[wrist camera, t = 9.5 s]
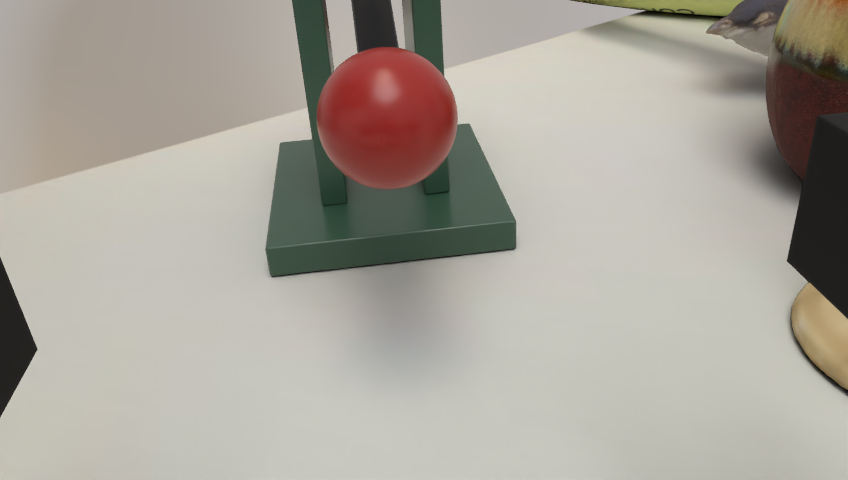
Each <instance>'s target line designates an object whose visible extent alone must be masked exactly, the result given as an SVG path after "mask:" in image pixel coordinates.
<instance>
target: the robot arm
mask: <svg viewBox="0 0 848 480" xmlns="http://www.w3.org/2000/svg"><path fill="white" fill-rule="evenodd" d="M787 262H788V263H790V264H791V265H792V266H793V267H794V268H795V269H796V270H797V271H798V272H799V273H800V274H801V275H802V276H803V277H804V278H805V279H806V280H807V281H808V282H809V283H810V284H812V285H813V286H814V287H815V288H816V289H817V290H818V291H819V292H820V293H821V294H822V295H823V296H824V297H825V298H826V299H827V300H828V301H829V302H830V303H831V304H832V305H834V306H835V307H836V308H837V309H838V310H839V311H840V312H841V313H842V314H843V315H844V316H845V317H846V318H847V319H848V112H845V113H835V114H826V115H817V119H816V124H815V129H814V134H813V139H812V143H811V148H810V153H809V158H808V163H807V167H806V172H805V177H804V182H803V186H802V191H801V196H800V201H799V206H798V210H797V215H796V220H795V225H794V230H793V234H792V239H791V244H790V249H789V254H788V258H787ZM36 351H37V347H36V344H35V342H34V340H33V337H32V335H31V332H30V330H29V327H28V325H27V322H26V320H25V317H24V315H23V312H22V310H21V307H20V305H19V302H18V300H17V298H16V295H15V293H14V290H13V288H12V285H11V283H10V280H9V278H8V275H7V273H6V270H5V268H4V265H3V263H2V260H1V258H0V417H1V415H2V413H3V411H4V409H5V408H6V406H7V404H8V402H9V400H10V399H11V397H12V395H13V393H14V391H15V389H16V388H17V386H18V384H19V382H20V380H21V378H22V377H23V375H24V373H25V371H26V369H27V368H28V366H29V364H30V362H31V360H32V358H33V357H34V355H35V353H36Z"/></svg>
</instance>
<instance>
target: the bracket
mask: <svg viewBox="0 0 848 480" xmlns="http://www.w3.org/2000/svg"><path fill="white" fill-rule="evenodd" d="M292 3H293V10H294V17H295V23H296V31H297V38H298V44H299V50H300V58H301V64H302V72H303V79H304V85H305V92H306V99H307V106H308V113H309V120H310V126H311V133H312V140H302V141H292V142H282V143H280V148H279V155H278V162H277V170H276V177H275V184H274V191H273V199H272V206H271V213H270V220H269V228H268V235H267V242H266V249H265V250H266V255H267V260H268V265H269V270H270V274H271V276H277V275H286V274H295V273H304V272H313V271H321V270H330V269H339V268H348V267H357V266H365V265H374V264H383V263H392V262H400V261H409V260H418V259H427V258H436V257H444V256H453V255H462V254H471V253H480V252H488V251H497V250H506V249H514V248H516V220H515V218H514V216H513V214H512V212H511V210H510V208H509V206H508V204H507V202H506V199H505V197H504V195H503V193H502V191H501V189H500V187H499V185H498V183H497V181H496V178H495V176H494V174H493V172H492V170H491V168H490V166H489V164H488V162H487V160H486V157H485V155H484V153H483V151H482V149H481V147H480V145H479V143H478V141H477V139H476V137H475V134H474V132H473V130H472V128H471V126H470V124H460V125H457V131H456V136H455V140H454V143H453V145H452V148H451V150H450V152H449V154H448V155H447V157H446V158H445V160H444V162H443V163H442V164H441V165H440V166H439V167H438V168H437V169H436V170H435V171H434V172H433V173H432V174H431V175H430V176H428V177H427V178H425V179H423V180H422V181H420V182H418V183H416V184H414V185H411V186H408V187H404V188H399V189H389V190H387V189H376V188H371V187H367V186H365V185H362V184H360V183H357V182H355V181H353V180H352V179H350V178H349V177H347V176H346V175H344V174H343V173H342V172H341V171H340V170H339V169H338V168H337V167H336V166H335V165H334V164H333V162H332V161H331V160H330V159H329V157H328V156H327V154H326V152H325V150H324V148H323V146H322V143H321V141H320V137H319V134H318V128H317V107H318V102H319V98H320V95H321V92H322V89H323V87H324V85H325V83H326V82H327V80H328V78H329V77H330V75H331V74H332V73H333V72H334V65H333V57H332V49H331V41H330V33H329V25H328V18H327V10H326V2H325V0H292ZM440 4H441V3H440V0H402V5H403V19H404V32H405V46H406V50H409V51H412V52H414V53H416V54H418V55H420V56H422V57H423V58H425V59H427V60H428V61H429V62H431V63H432V64H433V65H434V66H435V67H436V68H437V69H438V70H439V71H440V72H441V73H442V75H443V76H444V64H443V43H442V24H441V5H440Z"/></svg>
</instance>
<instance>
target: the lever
mask: <svg viewBox="0 0 848 480" xmlns="http://www.w3.org/2000/svg"><path fill="white" fill-rule="evenodd" d="M351 1H352V10H353V17H354V26H355V35H356V42H357V51H358V53H357V54H355V55H353V56H351V57H350V58H348V59H347V60H346V61H345V62H343V63H342V64H340V65H339V66H338V67H337V68H336V69H335V71H334V72H333V73H332V74H331V75H330V77H329V78H328V80H327V82H326V83H325V85H324V87H323V89H322V92H321V95H320V98H319V102H318V107H317V128H318V134H319V137H320V141H321V143H322V146H323V148H324V150H325V152H326V154H327V156H328V157H329V159H330V160H331V161H332V162H333V164H334V165H335V166H336V167H337V168H338V169H339V170H340V171H341V172H342V173H343V174H344V175H346V176H347V177H349V178H350V179H352V180H353V181H355V182H357V183H360V184H362V185H365V186H367V187H371V188H376V189H387V190H389V189H399V188H404V187H408V186H411V185H414V184H416V183H418V182H420V181H422V180H423V179H425V178H427V177H428V176H430V175H431V174H432V173H433V172H434V171H435V170H436V169H437V168H438V167H439V166H440V165H441V164H442V163H443V162H444V160H445V158H446V157H447V155H448V154H449V152H450V150H451V148H452V145H453V143H454V140H455V136H456V131H457V121H458V116H457V106H456V102H455V98H454V95H453V92H452V90H451V88H450V86H449V84H448V82H447V80H446V79H445V77H444V76H443V75H442V73H441V72H440V71H439V70H438V69H437V68H436V67H435V66H434V65H433V64H432V63H431V62H429V61H428V60H427V59H425V58H423V57H422V56H420V55H418V54H416V53H414V52H412V51H409V50H406V49H401V48H399V47H398V41H397V35H396V30H395V23H394V18H393V11H392V6H391V0H351Z"/></svg>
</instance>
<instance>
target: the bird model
mask: <svg viewBox="0 0 848 480" xmlns="http://www.w3.org/2000/svg"><path fill="white" fill-rule="evenodd" d="M787 2H788V0H743V1H742V2H741V3H739V4H738V5H737V6H736V7H735V8H734V9H733V10H732V12H731V13H730V14H728V15H727V16H725V17H724V18H722V19H720V21H717V22H715V23H714V24H713V25H711V26H710V27H709V28H708V30H707V31H706V33H708V34H716V35H720V36H723V37H724V38H725V39H729V38H730V39H732V40H734V41H735V42H736V43H737V44H739V45H741V46H743V47H745V48H747V49H749V50H751V51H753V52H757V53H760V54H763V55H766V56H769V51H770V46H771V41H772V38H773V34H774V31H775V28H776V25H777V23H778V20H779V18H780V15H781V13H782V11H783V9H784V7H785V5H786V3H787Z"/></svg>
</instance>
